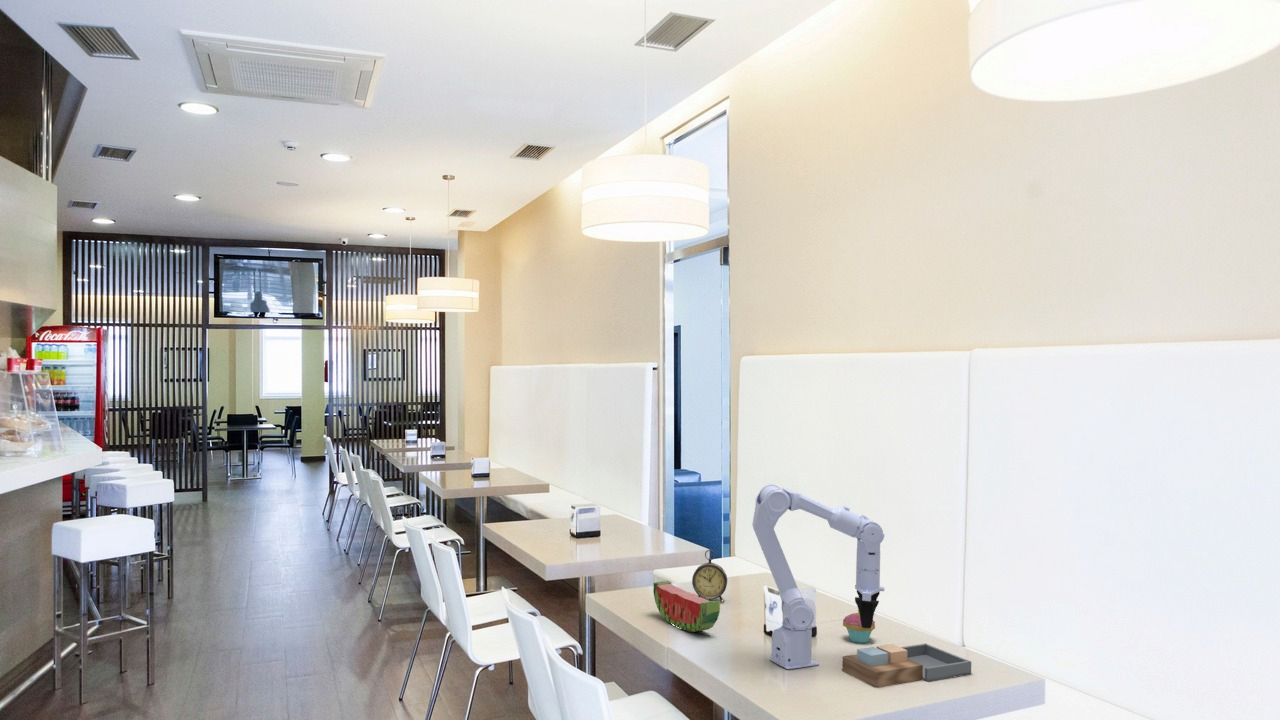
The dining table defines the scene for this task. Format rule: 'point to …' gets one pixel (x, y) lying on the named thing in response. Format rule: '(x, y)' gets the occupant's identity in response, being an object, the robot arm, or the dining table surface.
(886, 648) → the tile sand
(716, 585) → the alarm clock
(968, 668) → the tray
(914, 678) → the bench board
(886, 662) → the pale blue block
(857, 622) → the cupcake
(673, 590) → the fruit slice
